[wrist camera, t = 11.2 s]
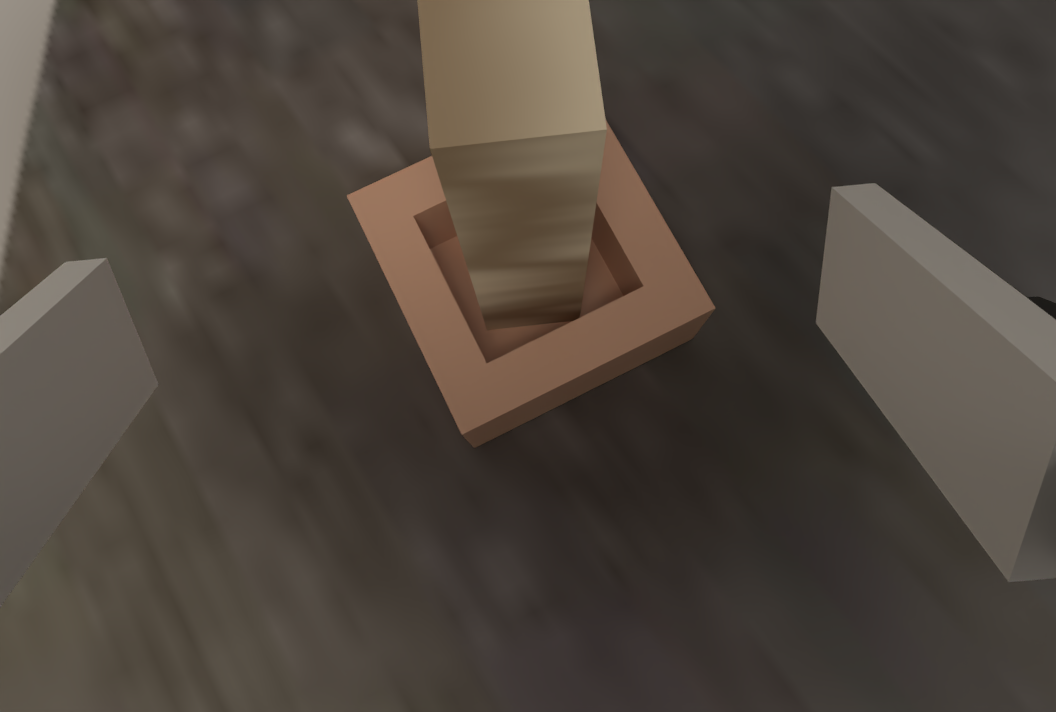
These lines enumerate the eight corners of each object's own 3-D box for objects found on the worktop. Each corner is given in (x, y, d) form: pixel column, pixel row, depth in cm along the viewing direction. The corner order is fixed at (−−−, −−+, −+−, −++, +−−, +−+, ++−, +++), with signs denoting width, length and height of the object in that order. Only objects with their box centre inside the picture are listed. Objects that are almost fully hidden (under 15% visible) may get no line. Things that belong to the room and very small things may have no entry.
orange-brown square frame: (580, 142, 27) (585, 84, 23) (692, 339, 25) (715, 308, 22) (374, 240, 26) (346, 195, 23) (474, 448, 24) (462, 434, 21)
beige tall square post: (568, 233, 25) (585, -24, 13) (579, 320, 24) (606, 129, 13) (478, 243, 25) (416, -5, 13) (487, 330, 25) (429, 148, 13)
